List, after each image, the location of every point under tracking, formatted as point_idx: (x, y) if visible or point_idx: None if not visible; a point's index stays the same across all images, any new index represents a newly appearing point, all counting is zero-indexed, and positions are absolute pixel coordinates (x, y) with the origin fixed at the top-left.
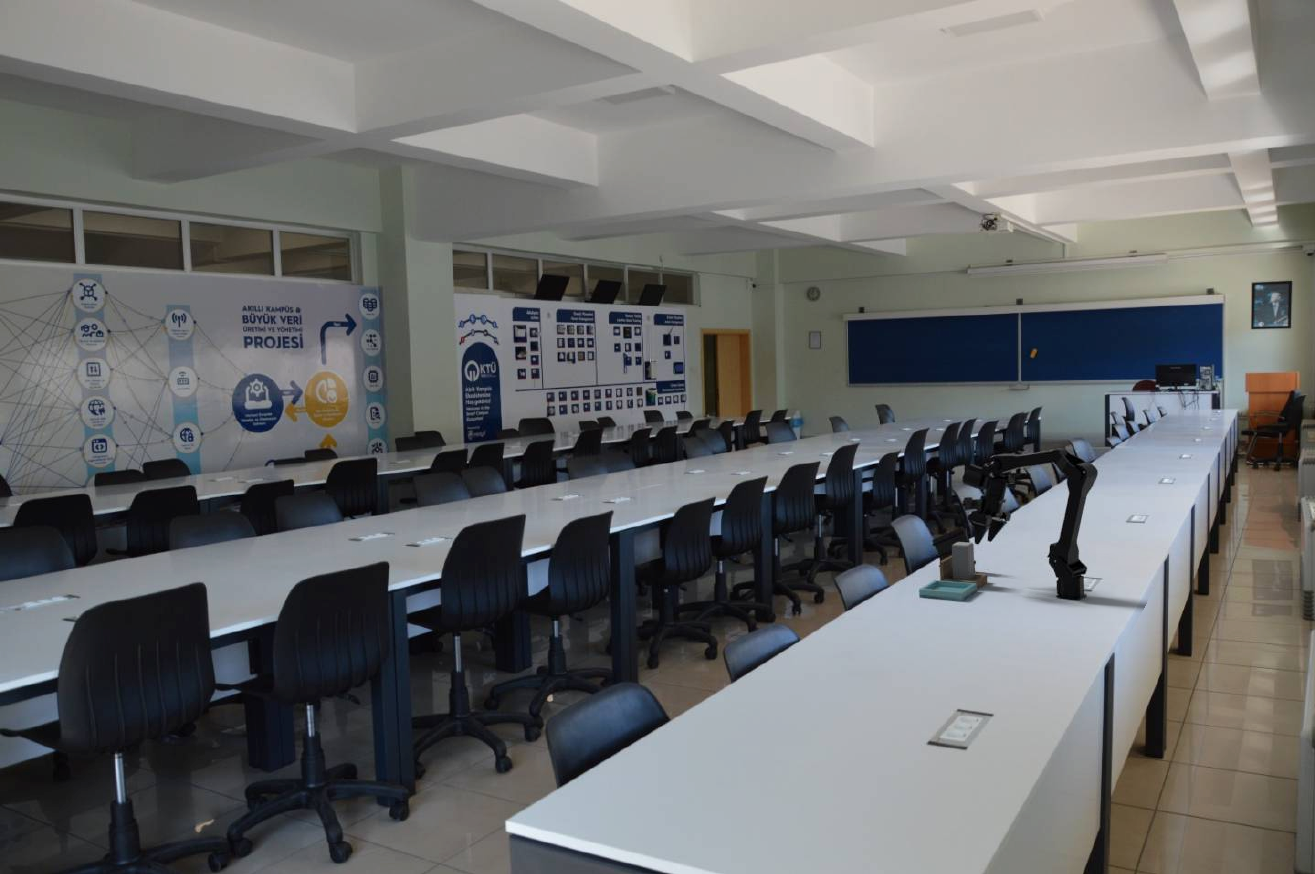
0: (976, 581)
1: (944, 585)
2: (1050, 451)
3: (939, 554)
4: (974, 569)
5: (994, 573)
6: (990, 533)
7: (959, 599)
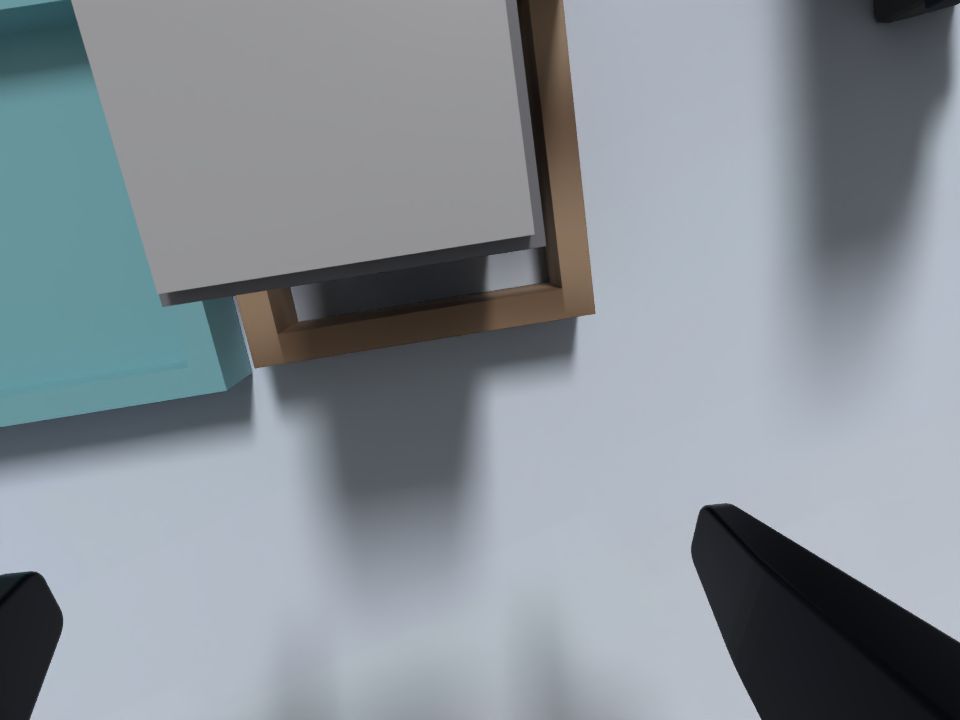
0: (279, 362)
1: None
2: None
3: None
4: (945, 4)
5: (925, 200)
6: (819, 687)
7: None
